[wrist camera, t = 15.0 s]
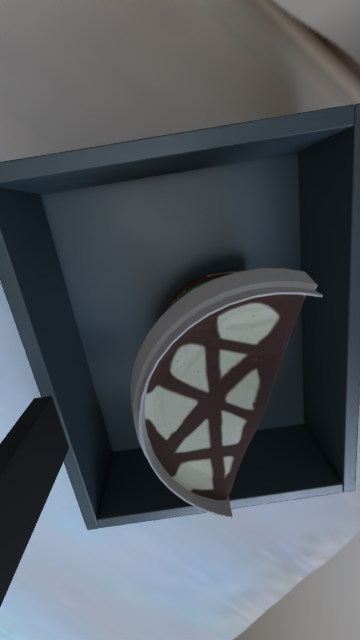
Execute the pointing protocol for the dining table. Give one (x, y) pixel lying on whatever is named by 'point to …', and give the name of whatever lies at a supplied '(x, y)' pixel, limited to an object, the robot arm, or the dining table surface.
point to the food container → (213, 377)
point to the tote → (171, 276)
